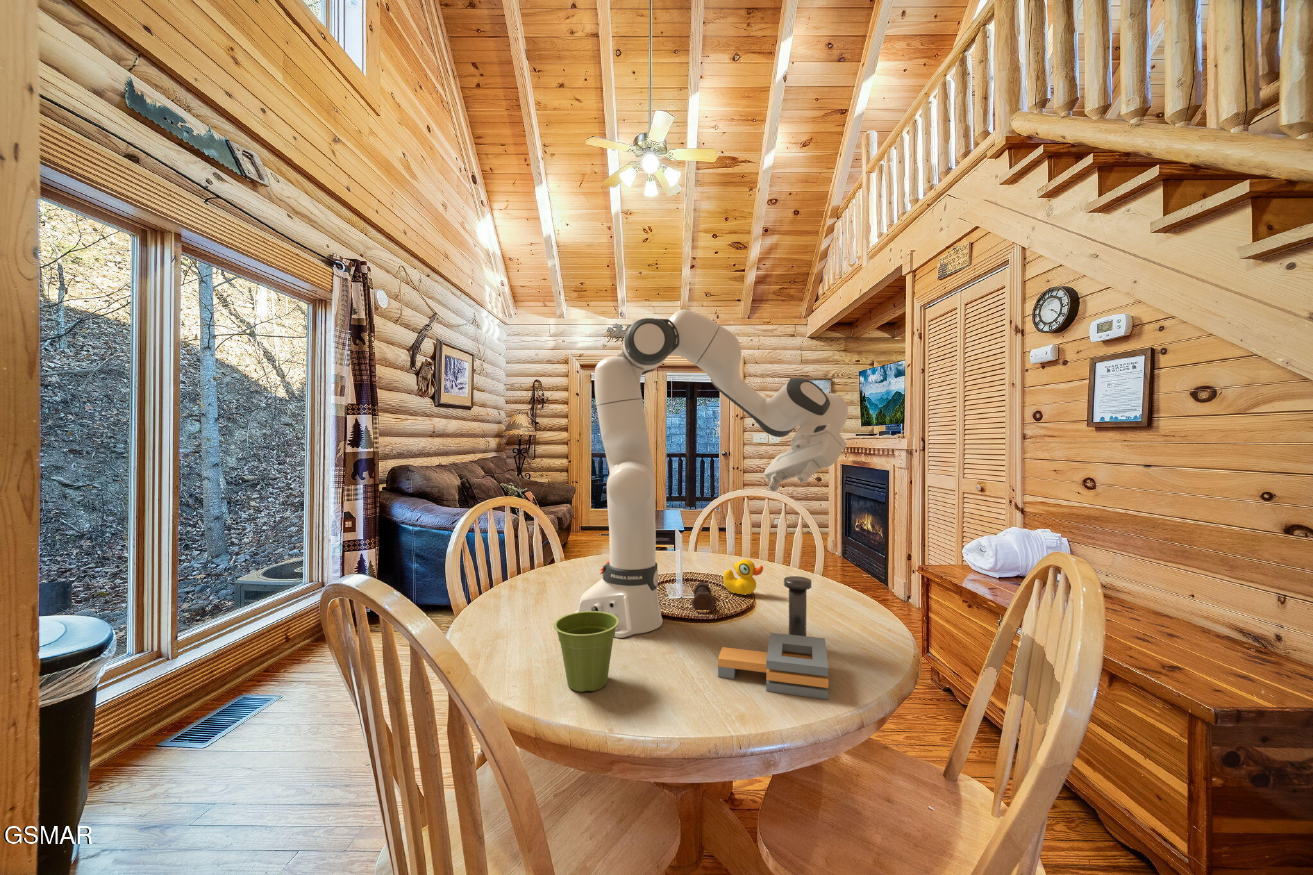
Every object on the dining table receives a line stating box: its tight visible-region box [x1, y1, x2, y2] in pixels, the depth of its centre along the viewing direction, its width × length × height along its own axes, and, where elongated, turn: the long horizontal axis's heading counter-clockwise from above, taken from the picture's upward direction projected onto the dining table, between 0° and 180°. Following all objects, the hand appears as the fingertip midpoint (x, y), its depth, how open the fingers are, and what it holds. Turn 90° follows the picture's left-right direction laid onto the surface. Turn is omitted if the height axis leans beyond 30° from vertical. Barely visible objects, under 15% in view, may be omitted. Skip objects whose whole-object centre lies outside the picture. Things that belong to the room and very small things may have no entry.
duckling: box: [722, 558, 764, 595], centre depth 139 cm, size 11×5×10 cm, turn 61°
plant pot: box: [553, 611, 619, 693], centre depth 92 cm, size 12×12×11 cm
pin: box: [783, 575, 812, 636], centre depth 106 cm, size 6×6×14 cm
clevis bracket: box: [717, 632, 829, 701], centre depth 94 cm, size 19×12×6 cm, turn 74°
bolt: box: [691, 581, 716, 611], centre depth 133 cm, size 6×5×15 cm
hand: (786, 484), depth 111 cm, fingers open, 8 cm apart
